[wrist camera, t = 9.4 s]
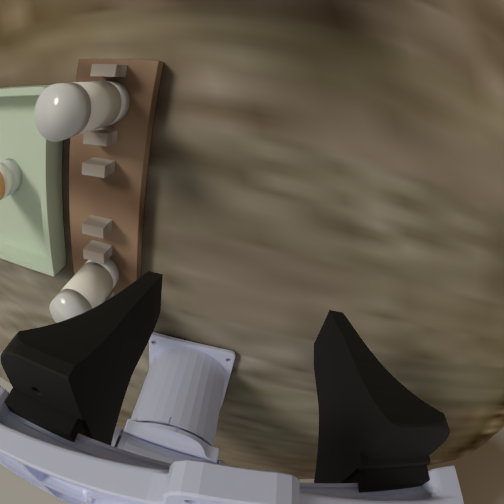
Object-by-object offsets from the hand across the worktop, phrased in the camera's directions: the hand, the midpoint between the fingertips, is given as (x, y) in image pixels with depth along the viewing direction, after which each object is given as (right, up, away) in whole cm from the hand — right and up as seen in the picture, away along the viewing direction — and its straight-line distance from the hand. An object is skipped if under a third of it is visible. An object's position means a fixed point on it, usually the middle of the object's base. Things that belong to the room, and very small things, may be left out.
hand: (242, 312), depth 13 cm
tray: (-20, +9, +8) cm, 23 cm away
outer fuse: (-9, +12, +4) cm, 16 cm away
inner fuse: (-12, +1, +10) cm, 16 cm away
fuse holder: (-10, +7, +8) cm, 15 cm away
